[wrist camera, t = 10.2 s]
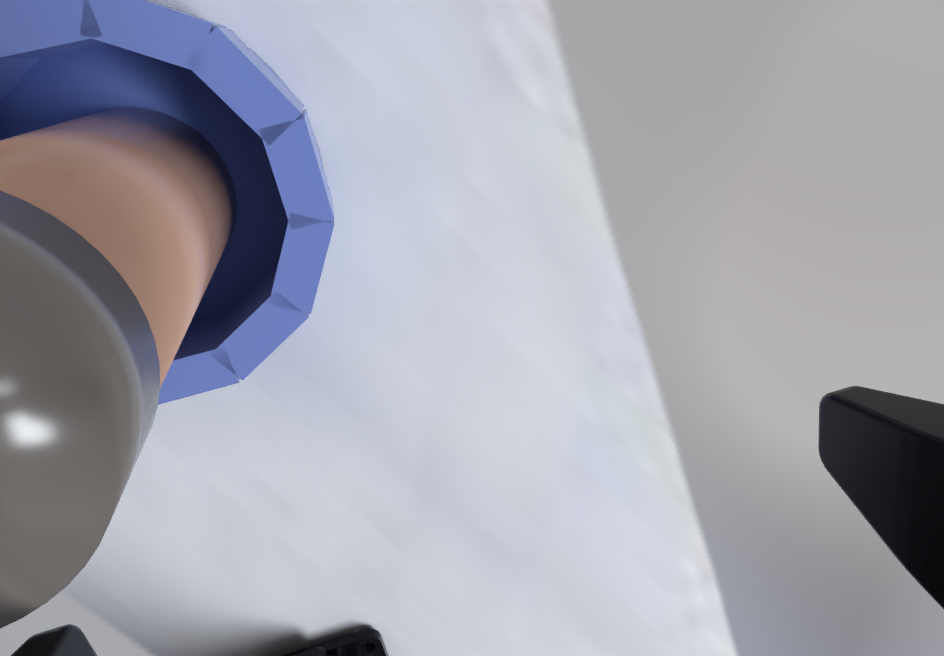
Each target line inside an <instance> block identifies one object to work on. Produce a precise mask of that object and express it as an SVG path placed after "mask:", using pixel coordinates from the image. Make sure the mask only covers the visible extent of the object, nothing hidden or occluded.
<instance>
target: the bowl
mask: <svg viewBox="0 0 944 656" xmlns="http://www.w3.org/2000/svg"><path fill="white" fill-rule="evenodd" d="M303 107H304V105H303V104H302V103H301V102H300V101H299V100H298V99H297V97H296V96H295V95H294V94H293V93H292V92H291V91H290V90H289V88H288V87H287V86H286V85H285V83H284V82H283V81H282V80H281V79H280V78H279V76H278V75H277V74H276V73H275V72H274V71H273V69H272V68H271V67H270V66H269V65H268V64H267V63H265V62H264V61H263V60H262V59H261V58H260V57H259V56H258V55H257V54H256V53H255V52H253V51H252V50H251V49H250V48H248V47H247V46H246V45H245V44H244V43H243V42H242V41H241V40H240V39H239V38H238V37H237V36H236V35H235V34H234V32H233V31H232V30H230V29H226V27H225V26H222V25H219V24H216V23H214V22H211V21H208V20H205V19H202V18H199V17H196V16H193V15H190V14H187V13H185V12H182V11H179V10H175V9H172V8H169V7H166V6H163V5H160V4H157V3H155V2H152V1H149V0H0V140H4V139H7V138H11V137H14V136H18V135H21V134H25V133H28V132H32V131H35V130H39V129H42V128H46V127H49V126H53V125H56V124H60V123H63V122H67V121H70V120H74V119H77V118H81V117H84V116H88V115H91V114H95V113H98V112H102V111H105V110H109V109H116V108H143V109H149V110H153V111H158V112H161V113H164V114H167V115H170V116H172V117H174V118H176V119H178V120H180V121H182V122H184V123H186V124H187V125H189V126H190V127H192V128H193V129H195V130H196V131H197V132H199V133H200V134H201V135H202V136H203V137H205V138H206V139H207V141H208V142H209V143H210V144H211V145H212V146H213V147H214V148H215V149H216V151H217V152H218V153H219V155H220V156H221V158H222V159H223V161H224V163H225V164H226V166H227V168H228V170H229V173H230V175H231V178H232V181H233V184H234V188H235V193H236V201H237V212H236V219H235V224H234V228H233V231H232V234H231V236H230V238H229V240H228V243H227V245H226V247H225V249H224V251H223V253H222V256H221V258H220V260H219V262H218V264H217V266H216V269H215V271H214V273H213V275H212V277H211V279H210V282H209V284H208V286H207V288H206V290H205V292H204V295H203V297H202V299H201V301H200V303H199V305H198V308H197V310H196V312H195V314H194V316H193V318H192V321H191V323H190V325H189V327H188V329H187V331H186V333H185V336H184V338H183V340H182V342H181V344H180V346H179V349H178V351H177V353H176V355H175V357H174V359H173V362H172V364H171V366H170V368H169V370H168V372H167V375H166V377H165V379H164V381H163V383H162V385H161V388H160V391H159V399H158V404H162V403H166V402H169V401H173V400H177V399H180V398H184V397H188V396H191V395H195V394H199V393H202V392H206V391H210V390H213V389H217V388H221V387H224V386H228V385H232V384H235V383H239V379H241V380H244V379H245V378H246V377H247V376H248V375H249V374H250V373H251V372H252V371H253V370H254V369H255V368H256V367H257V366H258V365H259V364H260V363H261V362H262V361H263V360H265V359H266V358H267V357H268V356H269V355H270V354H271V353H272V352H273V351H274V350H275V349H276V348H277V347H278V346H279V345H280V344H281V343H282V342H283V341H284V340H285V339H286V338H288V337H289V336H290V335H291V334H292V333H293V332H294V331H295V330H296V329H297V328H298V327H299V326H300V325H301V324H302V323H303V322H304V321H305V320H306V319H307V318H308V317H309V314H311V311H312V307H313V303H314V299H315V295H316V291H317V288H318V284H319V280H320V276H321V272H322V269H323V265H324V261H325V257H326V253H327V249H328V246H329V242H330V238H331V234H332V230H333V227H334V213H333V203H332V196H331V193H330V190H329V186H328V183H327V179H326V176H325V172H324V169H323V164H322V160H321V155H320V151H319V147H318V145H317V142H316V139H315V136H314V133H313V131H312V127H311V124H310V121H309V117H308V114H307V110H306V109H304V110H303Z"/></svg>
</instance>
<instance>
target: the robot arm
mask: <svg viewBox="0 0 944 656" xmlns="http://www.w3.org/2000/svg"><path fill="white" fill-rule="evenodd" d="M819 454H820V458H821V460H822V462H823V464H824V466H825V468H826V469H827V471H828V472H829V473H830V475H831V476H832V477H833V478H834V480H835V481H836V482H837V483H838V485H839V486H840V487H841V489H842V490H843V491H844V492H845V494H846V495H847V496H848V497H849V499H850V500H851V501H852V502H853V504H854V505H855V506H856V508H857V509H858V510H859V511H860V513H861V514H862V515H863V516H864V518H865V519H866V520H867V521H868V523H869V524H870V525H871V527H872V528H873V529H874V530H875V532H876V533H877V534H878V535H879V536H880V538H881V539H882V540H883V542H884V543H885V544H886V545H887V547H888V548H889V549H890V550H891V552H892V553H893V554H894V555H895V557H896V558H897V559H898V560H899V561H900V562H901V564H902V565H903V566H904V567H905V568H906V570H907V571H908V572H909V573H910V574H911V575H912V576H913V577H914V578H915V579H916V580H917V582H918V583H919V584H920V585H921V586H922V587H923V588H924V589H925V590H926V591H927V592H928V593H929V594H930V595H931V596H932V597H933V599H934V600H936V602H937V603H938V604H939V605H940V606H941V607H942V608H943V609H944V404H939V403H935V402H930V401H925V400H921V399H916V398H911V397H907V396H902V395H897V394H893V393H888V392H883V391H878V390H873V389H869V388H864V387H859V386H851V387H847V388H844V389H841V390H838V391H835V392H831V393H828V394H826V395H825V396H823V398H822V399H821V401H820V405H819ZM369 642H371V644H365V643H369ZM11 656H97V655H96V653H95V651H94V650H93V648H92V646H91V645H90V643H89V642H88V640H87V638H86V637H85V635H84V633H83V632H82V631H81V629H80V628H78V627H77V626H74V625H64V626H61V627H57V628H54V629H51V630H47V631H44V632H41V633H38V634H35V635H33V636H32V637H30V638H29V639H28V640H27V641H26V642H25V643H24V644H22V645H21V647H19V648H18V650H16V651H15V652H14V653H13V654H12V655H11ZM283 656H388V653H387V650H386V647H385V645H384V642H383V639H382V636H381V634H380V633H379V631H377V630H375V629H365V630H361V631H358V632H355V633H352V634H349V635H346V636H343V637H339V638H336V639H333V640H330V641H327V642H324V643H321V644H318V645H314V646H311V647H308V648H305V649H302V650H299V651H296V652H293V653H289V654H286V655H283Z"/></svg>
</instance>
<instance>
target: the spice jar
mask: <svg viewBox="0 0 944 656" xmlns="http://www.w3.org/2000/svg"><path fill="white" fill-rule="evenodd" d="M236 212H237V201H236V193H235V188H234V184H233V181H232V178H231V175H230V173H229V170H228V168H227V166H226V164H225V163H224V161H223V159H222V158H221V156H220V155H219V153H218V152H217V151H216V149H215V148H214V147H213V146H212V145H211V144H210V143H209V142H208V141H207V139H206V138H205V137H203V136H202V135H201V134H200V133H199V132H197V131H196V130H195V129H193V128H192V127H190V126H189V125H187V124H186V123H184V122H182V121H180V120H178V119H176V118H174V117H172V116H170V115H167V114H164V113H161V112H158V111H153V110H149V109H143V108H116V109H109V110H105V111H102V112H98V113H95V114H91V115H88V116H84V117H81V118H77V119H74V120H70V121H67V122H63V123H60V124H56V125H53V126H49V127H46V128H42V129H39V130H35V131H32V132H28V133H25V134H21V135H18V136H14V137H11V138H7V139H4V140H0V628H2V627H4V626H6V625H8V624H10V623H13V622H15V621H17V620H19V619H21V618H23V617H24V616H26V615H28V614H29V613H30V612H32V611H34V610H36V609H37V608H39V607H40V606H42V605H43V604H45V603H47V602H48V601H49V600H50V599H51V598H53V597H54V596H55V595H56V594H57V593H59V592H60V591H61V590H62V589H64V588H65V587H66V586H67V585H68V584H69V583H70V582H71V581H72V580H73V579H74V578H75V576H76V575H77V574H78V573H79V572H80V571H81V570H82V569H83V568H84V567H85V565H86V564H87V562H88V561H89V559H90V558H91V556H92V555H93V553H94V552H95V550H96V549H97V547H98V546H99V544H100V542H101V540H102V538H103V535H104V533H105V531H106V529H107V527H108V525H109V522H110V520H111V518H112V516H113V513H114V511H115V509H116V507H117V504H118V502H119V500H120V497H121V495H122V493H123V491H124V488H125V486H126V484H127V481H128V479H129V477H130V475H131V472H132V470H133V468H134V465H135V463H136V461H137V459H138V456H139V454H140V452H141V449H142V447H143V445H144V443H145V440H146V438H147V436H148V433H149V431H150V429H151V427H152V424H153V421H154V417H155V413H156V410H157V406H158V399H159V391H160V388H161V385H162V383H163V381H164V379H165V377H166V375H167V372H168V370H169V368H170V366H171V364H172V362H173V359H174V357H175V355H176V353H177V351H178V349H179V346H180V344H181V342H182V340H183V338H184V336H185V333H186V331H187V329H188V327H189V325H190V323H191V321H192V318H193V316H194V314H195V312H196V310H197V308H198V305H199V303H200V301H201V299H202V297H203V295H204V292H205V290H206V288H207V286H208V284H209V282H210V279H211V277H212V275H213V273H214V271H215V269H216V266H217V264H218V262H219V260H220V258H221V256H222V253H223V251H224V249H225V247H226V245H227V243H228V240H229V238H230V236H231V234H232V231H233V228H234V224H235V219H236Z"/></svg>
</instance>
